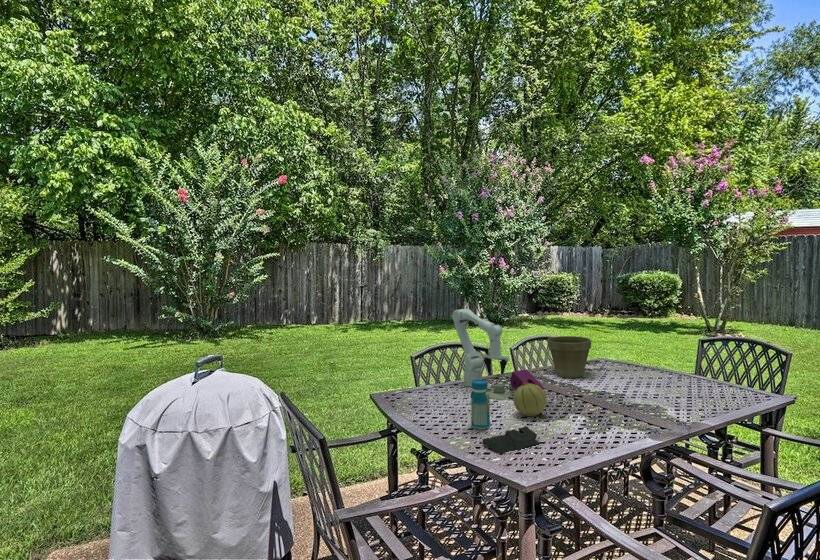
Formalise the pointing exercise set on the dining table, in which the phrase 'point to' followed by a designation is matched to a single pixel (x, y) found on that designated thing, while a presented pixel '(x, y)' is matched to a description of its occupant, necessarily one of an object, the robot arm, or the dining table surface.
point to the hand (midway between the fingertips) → (495, 372)
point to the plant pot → (569, 355)
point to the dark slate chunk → (512, 440)
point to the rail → (497, 394)
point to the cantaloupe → (530, 399)
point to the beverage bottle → (480, 405)
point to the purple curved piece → (523, 379)
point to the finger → (499, 388)
